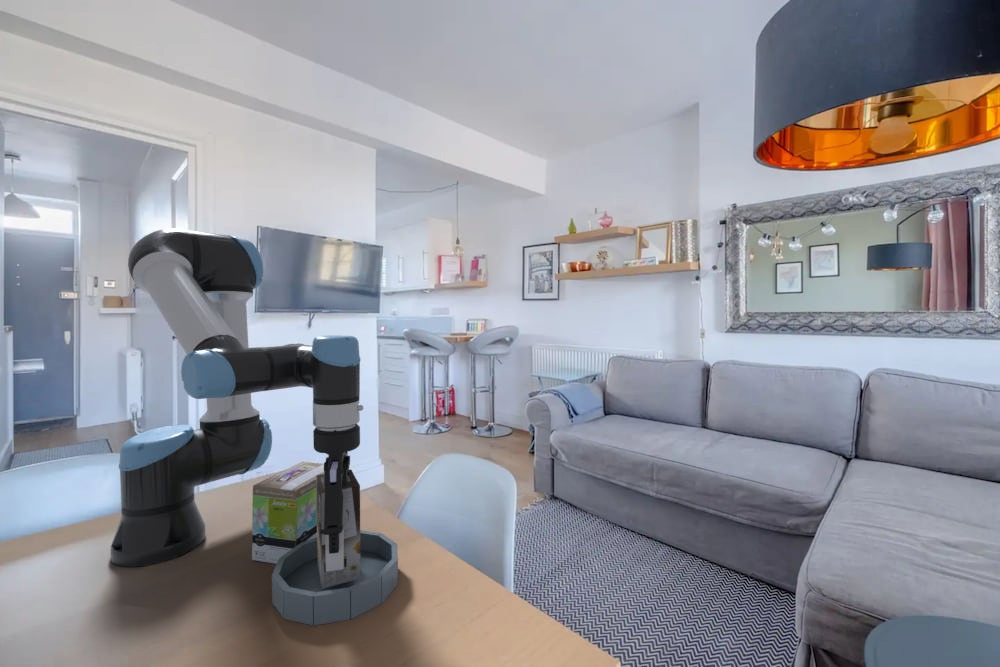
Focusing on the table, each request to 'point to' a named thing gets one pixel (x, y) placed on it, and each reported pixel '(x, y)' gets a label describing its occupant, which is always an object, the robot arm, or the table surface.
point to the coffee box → (350, 533)
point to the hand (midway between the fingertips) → (338, 552)
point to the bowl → (315, 605)
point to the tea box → (284, 511)
